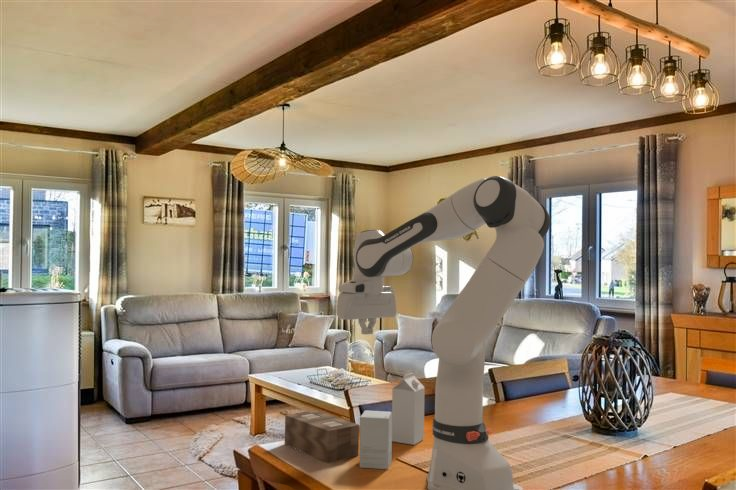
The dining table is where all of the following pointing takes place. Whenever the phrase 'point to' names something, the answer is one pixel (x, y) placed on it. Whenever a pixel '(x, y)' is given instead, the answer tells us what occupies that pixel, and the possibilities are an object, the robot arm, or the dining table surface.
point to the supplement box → (375, 439)
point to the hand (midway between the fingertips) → (367, 334)
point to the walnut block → (322, 436)
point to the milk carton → (408, 411)
